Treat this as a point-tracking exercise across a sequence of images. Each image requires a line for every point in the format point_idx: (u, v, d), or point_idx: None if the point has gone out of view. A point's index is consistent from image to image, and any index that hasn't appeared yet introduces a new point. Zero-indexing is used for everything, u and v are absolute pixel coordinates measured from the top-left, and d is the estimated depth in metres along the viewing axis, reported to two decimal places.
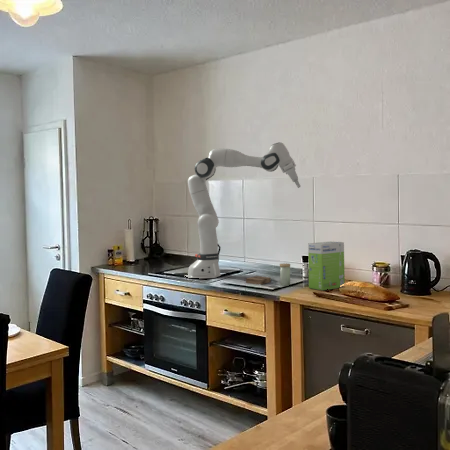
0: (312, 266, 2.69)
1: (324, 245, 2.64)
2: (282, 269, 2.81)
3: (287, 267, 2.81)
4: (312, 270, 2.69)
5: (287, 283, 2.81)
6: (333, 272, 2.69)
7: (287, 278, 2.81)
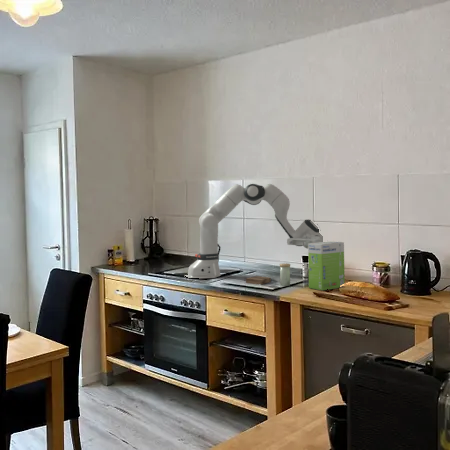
0: (312, 266, 2.69)
1: (324, 245, 2.64)
2: (282, 269, 2.81)
3: (287, 267, 2.81)
4: (312, 270, 2.69)
5: (287, 283, 2.81)
6: (333, 272, 2.69)
7: (287, 278, 2.81)
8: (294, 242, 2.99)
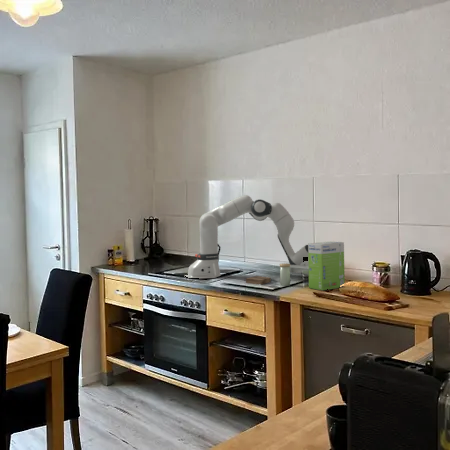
0: (312, 266, 2.69)
1: (324, 245, 2.64)
2: (282, 269, 2.81)
3: (287, 267, 2.81)
4: (312, 270, 2.69)
5: (287, 283, 2.81)
6: (333, 272, 2.69)
7: (287, 278, 2.81)
8: (292, 269, 2.98)
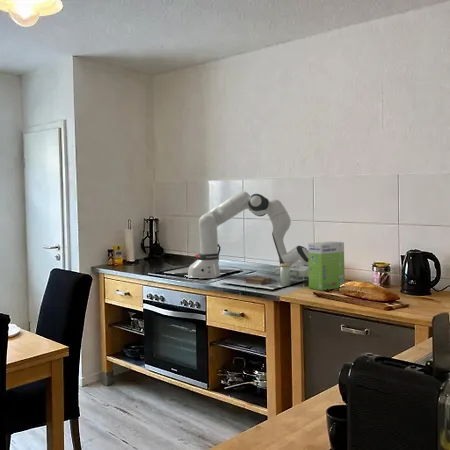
0: (312, 266, 2.69)
1: (324, 245, 2.64)
2: (282, 269, 2.81)
3: (287, 267, 2.81)
4: (312, 270, 2.69)
5: (287, 283, 2.81)
6: (333, 272, 2.69)
7: (287, 278, 2.81)
8: None
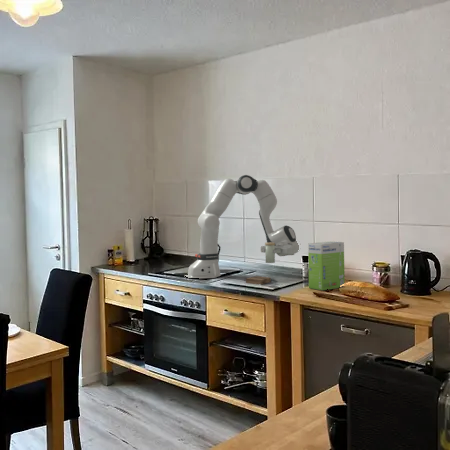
0: (312, 266, 2.69)
1: (324, 245, 2.64)
2: (267, 247, 3.00)
3: (272, 245, 2.99)
4: (312, 270, 2.69)
5: (272, 260, 3.00)
6: (333, 272, 2.69)
7: (272, 256, 3.00)
8: None
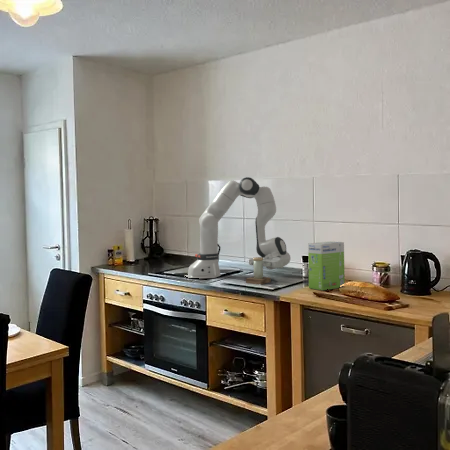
0: (312, 266, 2.69)
1: (324, 245, 2.64)
2: (255, 263, 2.91)
3: (260, 261, 2.90)
4: (312, 270, 2.69)
5: (260, 276, 2.91)
6: (333, 272, 2.69)
7: (260, 271, 2.91)
8: None
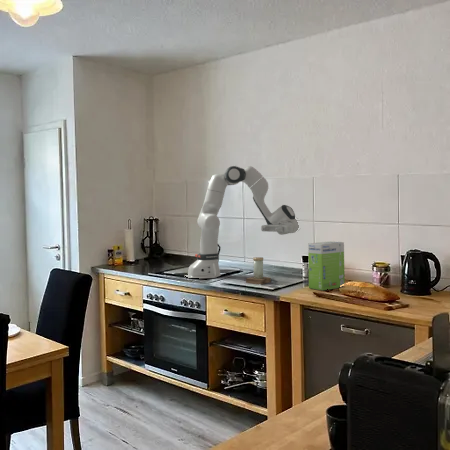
0: (311, 266, 2.69)
1: (324, 245, 2.64)
2: (255, 262, 2.91)
3: (260, 260, 2.91)
4: (312, 270, 2.69)
5: (260, 276, 2.91)
6: (333, 272, 2.69)
7: (260, 271, 2.91)
8: (268, 229, 3.08)
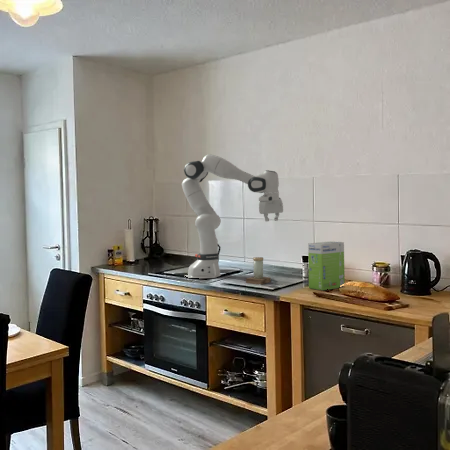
0: (311, 266, 2.69)
1: (324, 245, 2.64)
2: (255, 262, 2.91)
3: (260, 261, 2.90)
4: (312, 270, 2.69)
5: (260, 276, 2.91)
6: (333, 272, 2.69)
7: (260, 271, 2.91)
8: None
